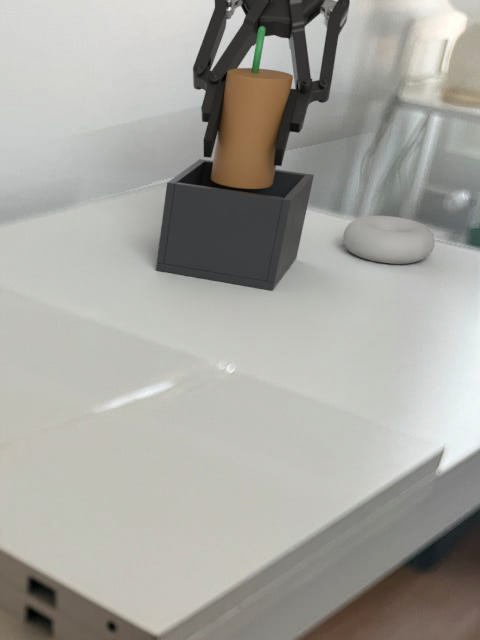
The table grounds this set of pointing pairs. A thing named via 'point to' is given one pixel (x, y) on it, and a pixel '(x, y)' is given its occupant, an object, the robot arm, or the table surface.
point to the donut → (389, 239)
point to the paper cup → (250, 124)
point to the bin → (232, 227)
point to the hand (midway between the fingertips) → (242, 152)
